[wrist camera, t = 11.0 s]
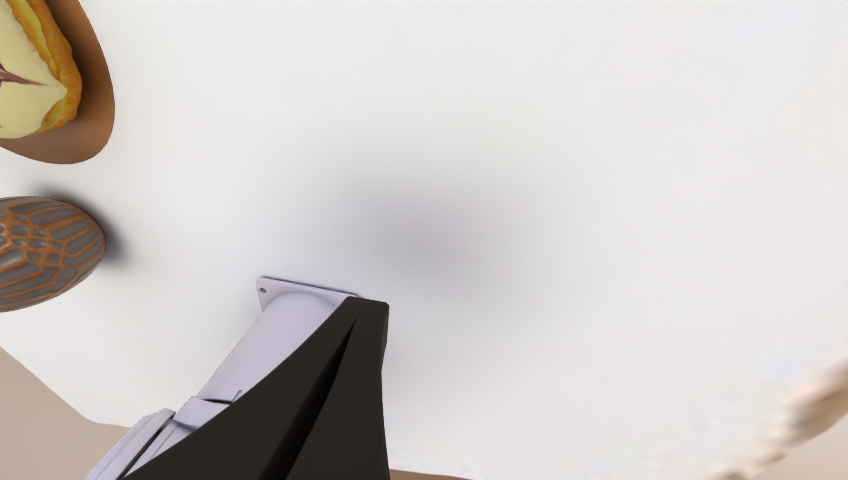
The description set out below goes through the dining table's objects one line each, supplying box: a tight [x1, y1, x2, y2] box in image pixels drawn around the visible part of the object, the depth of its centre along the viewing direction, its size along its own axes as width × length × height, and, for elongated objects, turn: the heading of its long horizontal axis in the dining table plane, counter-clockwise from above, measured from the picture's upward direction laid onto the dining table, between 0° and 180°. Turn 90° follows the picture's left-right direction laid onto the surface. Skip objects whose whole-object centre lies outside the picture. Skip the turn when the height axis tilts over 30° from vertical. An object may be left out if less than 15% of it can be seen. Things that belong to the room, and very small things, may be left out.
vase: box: [0, 196, 105, 312], centre depth 19 cm, size 7×7×9 cm
